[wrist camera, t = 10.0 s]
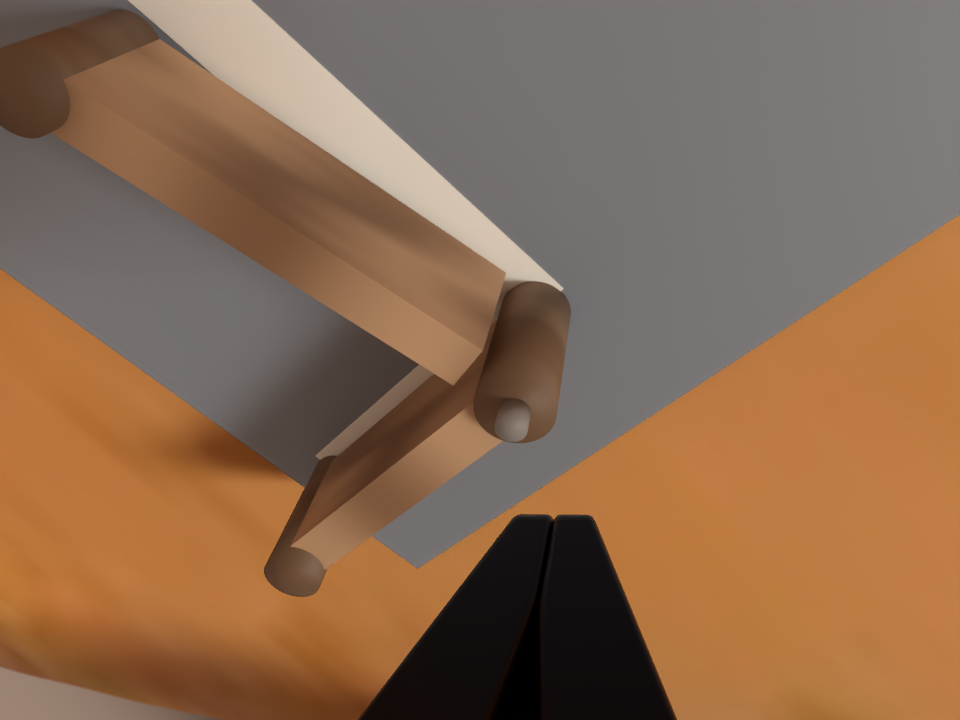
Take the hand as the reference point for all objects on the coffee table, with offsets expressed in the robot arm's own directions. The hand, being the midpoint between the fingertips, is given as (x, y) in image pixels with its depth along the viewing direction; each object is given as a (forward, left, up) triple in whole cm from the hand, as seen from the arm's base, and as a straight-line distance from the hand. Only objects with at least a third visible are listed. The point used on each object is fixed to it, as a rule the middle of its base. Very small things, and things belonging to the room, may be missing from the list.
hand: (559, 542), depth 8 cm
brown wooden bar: (-5, +5, -11) cm, 13 cm away
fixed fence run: (-9, -2, -12) cm, 15 cm away
